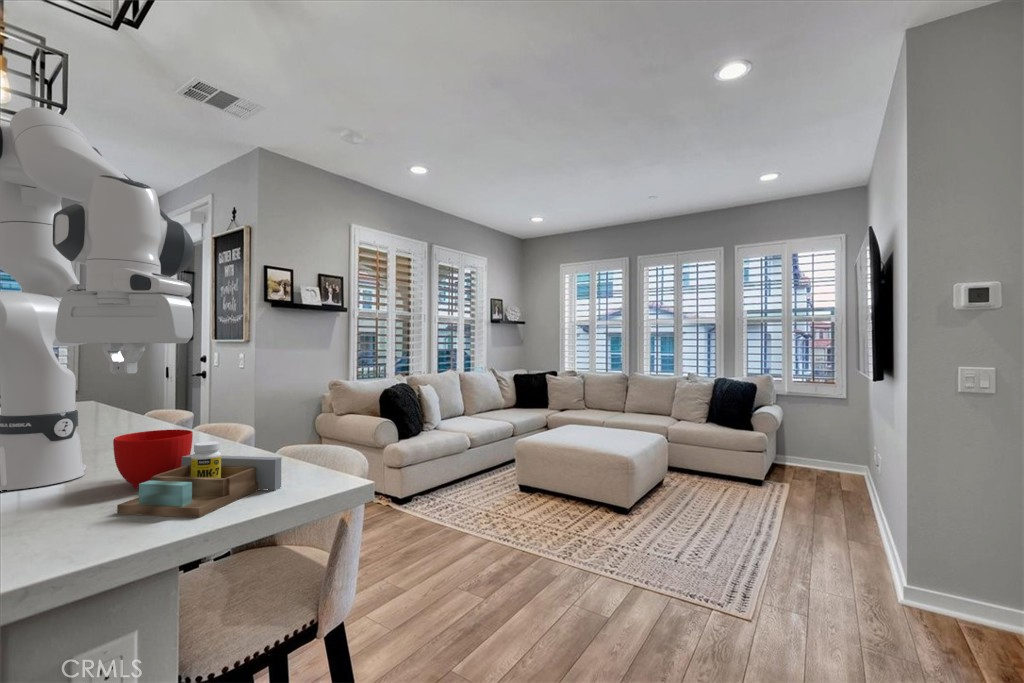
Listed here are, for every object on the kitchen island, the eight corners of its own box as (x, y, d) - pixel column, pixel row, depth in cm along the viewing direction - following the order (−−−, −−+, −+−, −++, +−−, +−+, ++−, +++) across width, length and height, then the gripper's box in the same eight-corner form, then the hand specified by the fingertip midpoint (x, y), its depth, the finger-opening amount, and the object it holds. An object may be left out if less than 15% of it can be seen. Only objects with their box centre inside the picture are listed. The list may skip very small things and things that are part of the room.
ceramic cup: (175, 469, 108) (176, 425, 108) (201, 482, 97) (201, 434, 97) (101, 481, 98) (102, 433, 98) (121, 498, 87) (122, 444, 87)
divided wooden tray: (117, 513, 79) (117, 484, 79) (188, 487, 94) (188, 462, 94) (199, 517, 77) (199, 487, 77) (258, 490, 92) (258, 464, 92)
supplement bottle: (194, 493, 85) (194, 447, 85) (187, 488, 88) (188, 443, 88) (224, 487, 89) (224, 443, 89) (216, 482, 92) (217, 439, 92)
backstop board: (181, 486, 94) (181, 456, 94) (189, 484, 96) (189, 454, 96) (275, 490, 92) (275, 459, 92) (281, 487, 94) (281, 457, 94)
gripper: (42, 281, 70) (40, 373, 70) (167, 279, 68) (166, 375, 68) (84, 286, 76) (83, 371, 76) (200, 285, 74) (199, 372, 74)
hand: (123, 373), depth 72 cm, fingers closed
